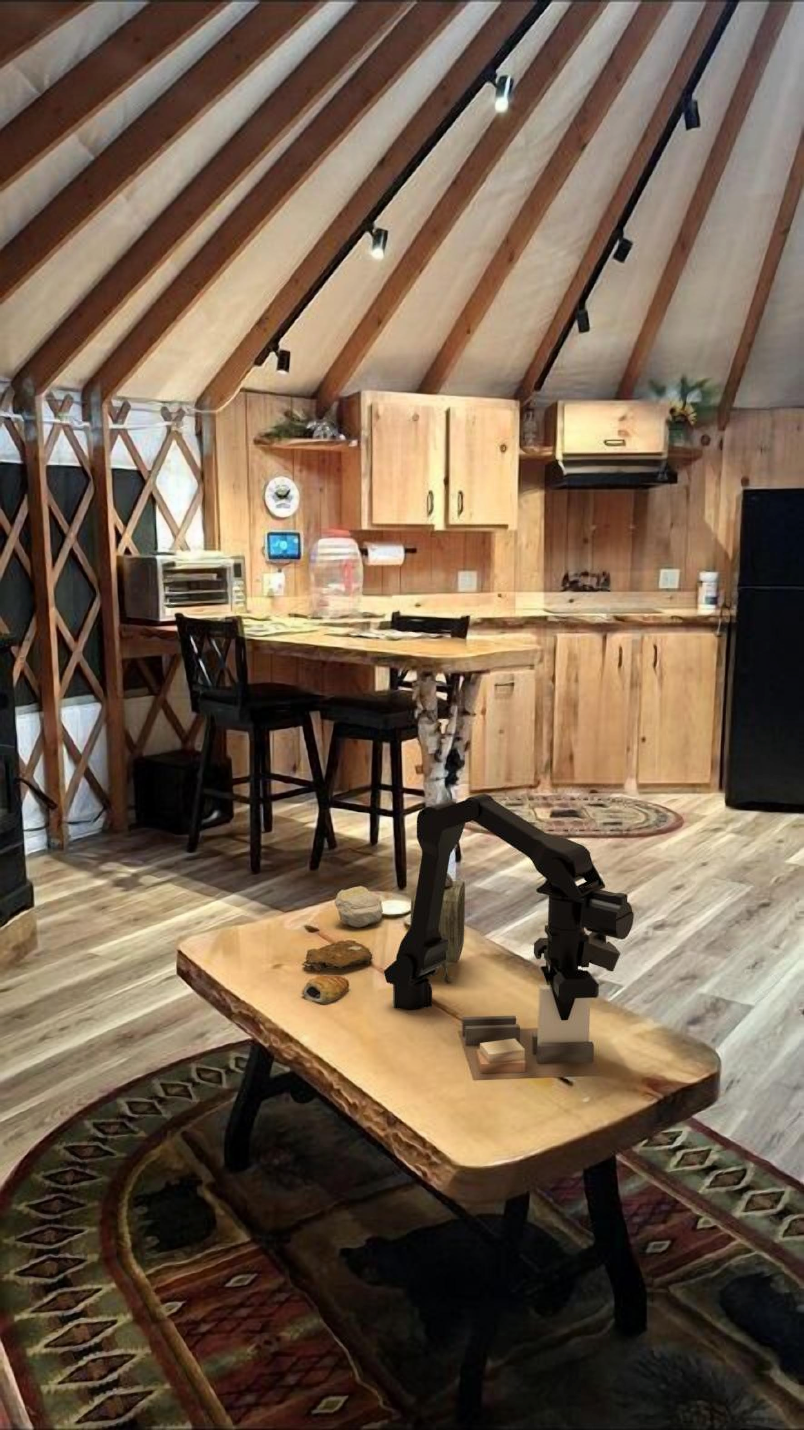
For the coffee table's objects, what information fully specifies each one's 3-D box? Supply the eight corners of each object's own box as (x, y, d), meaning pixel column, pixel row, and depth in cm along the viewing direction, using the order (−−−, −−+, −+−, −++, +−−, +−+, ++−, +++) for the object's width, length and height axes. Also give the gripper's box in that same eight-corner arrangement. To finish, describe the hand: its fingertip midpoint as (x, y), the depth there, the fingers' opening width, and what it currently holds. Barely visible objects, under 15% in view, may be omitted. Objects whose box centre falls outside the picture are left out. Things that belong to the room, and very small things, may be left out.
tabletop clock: (455, 988, 195) (457, 861, 192) (409, 984, 197) (409, 858, 193) (464, 959, 209) (465, 841, 206) (420, 956, 211) (421, 839, 207)
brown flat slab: (327, 985, 197) (382, 967, 208) (328, 965, 197) (383, 948, 207) (289, 966, 205) (344, 949, 216) (290, 947, 205) (346, 931, 215)
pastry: (331, 982, 198) (331, 963, 197) (358, 991, 194) (358, 972, 193) (298, 998, 190) (298, 979, 190) (326, 1008, 186) (326, 988, 186)
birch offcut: (489, 1063, 159) (489, 1054, 159) (479, 1052, 163) (479, 1043, 162) (524, 1058, 161) (524, 1049, 160) (514, 1047, 164) (514, 1038, 164)
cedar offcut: (480, 1073, 159) (481, 1064, 159) (475, 1058, 164) (476, 1049, 164) (525, 1071, 159) (525, 1062, 159) (518, 1056, 164) (519, 1047, 164)
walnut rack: (473, 1089, 157) (473, 1061, 156) (457, 1039, 174) (458, 1014, 173) (600, 1084, 159) (601, 1057, 158) (573, 1035, 175) (573, 1010, 175)
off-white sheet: (539, 1048, 163) (541, 989, 162) (537, 1044, 165) (539, 985, 163) (588, 1047, 164) (590, 988, 162) (585, 1042, 165) (588, 984, 164)
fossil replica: (392, 919, 234) (352, 917, 237) (390, 883, 233) (350, 882, 237) (371, 932, 222) (329, 930, 226) (369, 894, 222) (328, 893, 226)
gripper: (633, 944, 153) (629, 1042, 155) (599, 903, 171) (596, 992, 174) (560, 946, 152) (557, 1045, 154) (534, 905, 170) (531, 994, 173)
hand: (562, 1017), depth 164 cm, fingers closed on off-white sheet, 2 cm apart
